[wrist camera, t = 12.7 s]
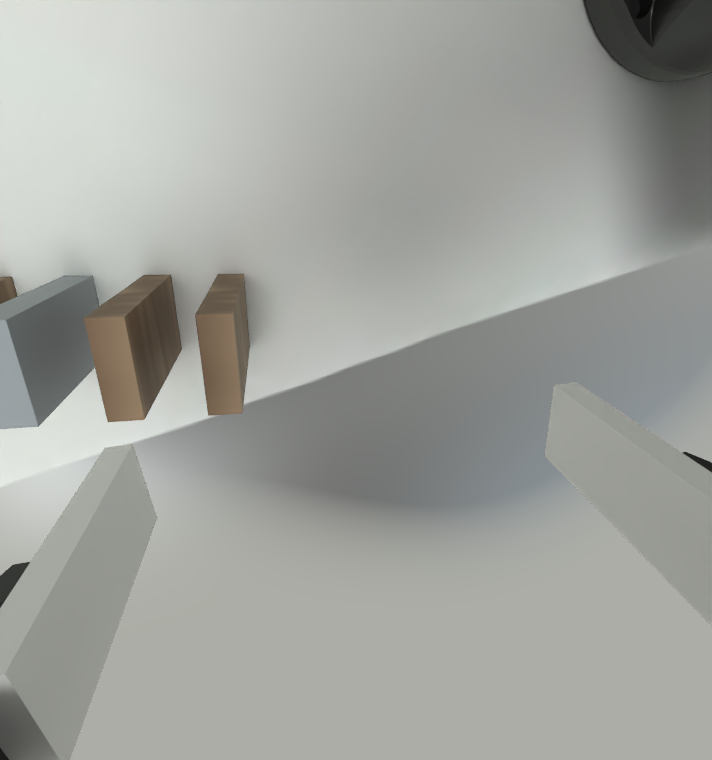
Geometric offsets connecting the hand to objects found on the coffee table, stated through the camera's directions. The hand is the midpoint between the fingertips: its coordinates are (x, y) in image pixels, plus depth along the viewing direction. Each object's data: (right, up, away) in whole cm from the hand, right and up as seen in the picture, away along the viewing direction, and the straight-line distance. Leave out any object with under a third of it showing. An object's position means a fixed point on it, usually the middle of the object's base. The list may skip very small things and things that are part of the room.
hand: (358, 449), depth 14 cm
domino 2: (-13, +6, +15) cm, 21 cm away
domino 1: (-17, +6, +14) cm, 23 cm away
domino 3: (-8, +7, +16) cm, 19 cm away
